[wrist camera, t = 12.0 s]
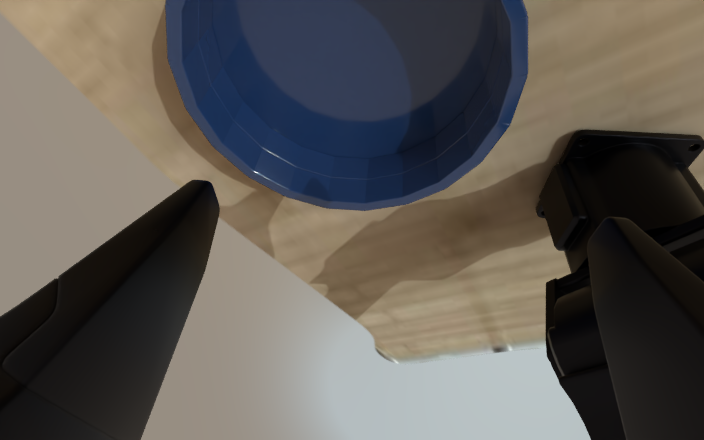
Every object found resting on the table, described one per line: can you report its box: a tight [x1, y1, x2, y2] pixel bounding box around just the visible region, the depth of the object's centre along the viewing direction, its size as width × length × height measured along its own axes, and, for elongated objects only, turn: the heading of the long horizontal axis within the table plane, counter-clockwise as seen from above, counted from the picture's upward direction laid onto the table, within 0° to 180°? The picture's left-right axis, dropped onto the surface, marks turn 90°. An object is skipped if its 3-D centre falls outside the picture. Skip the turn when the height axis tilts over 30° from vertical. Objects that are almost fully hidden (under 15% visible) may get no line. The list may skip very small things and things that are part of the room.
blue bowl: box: [165, 0, 528, 211], centre depth 17 cm, size 14×14×4 cm
